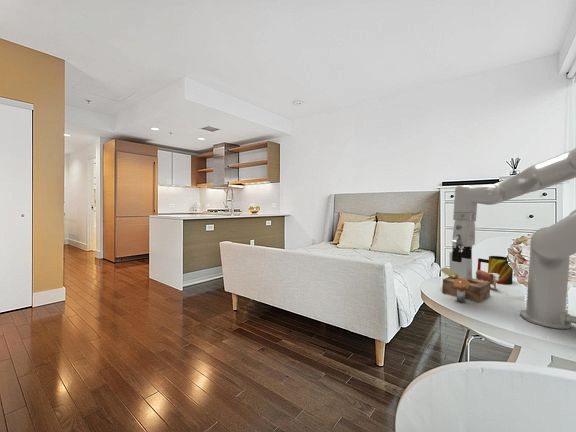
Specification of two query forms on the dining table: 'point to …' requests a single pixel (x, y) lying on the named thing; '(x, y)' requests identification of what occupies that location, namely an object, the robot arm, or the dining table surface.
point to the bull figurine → (488, 277)
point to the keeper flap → (449, 273)
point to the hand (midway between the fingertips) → (461, 260)
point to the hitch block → (476, 288)
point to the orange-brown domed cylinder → (461, 289)
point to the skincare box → (461, 267)
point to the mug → (498, 268)
